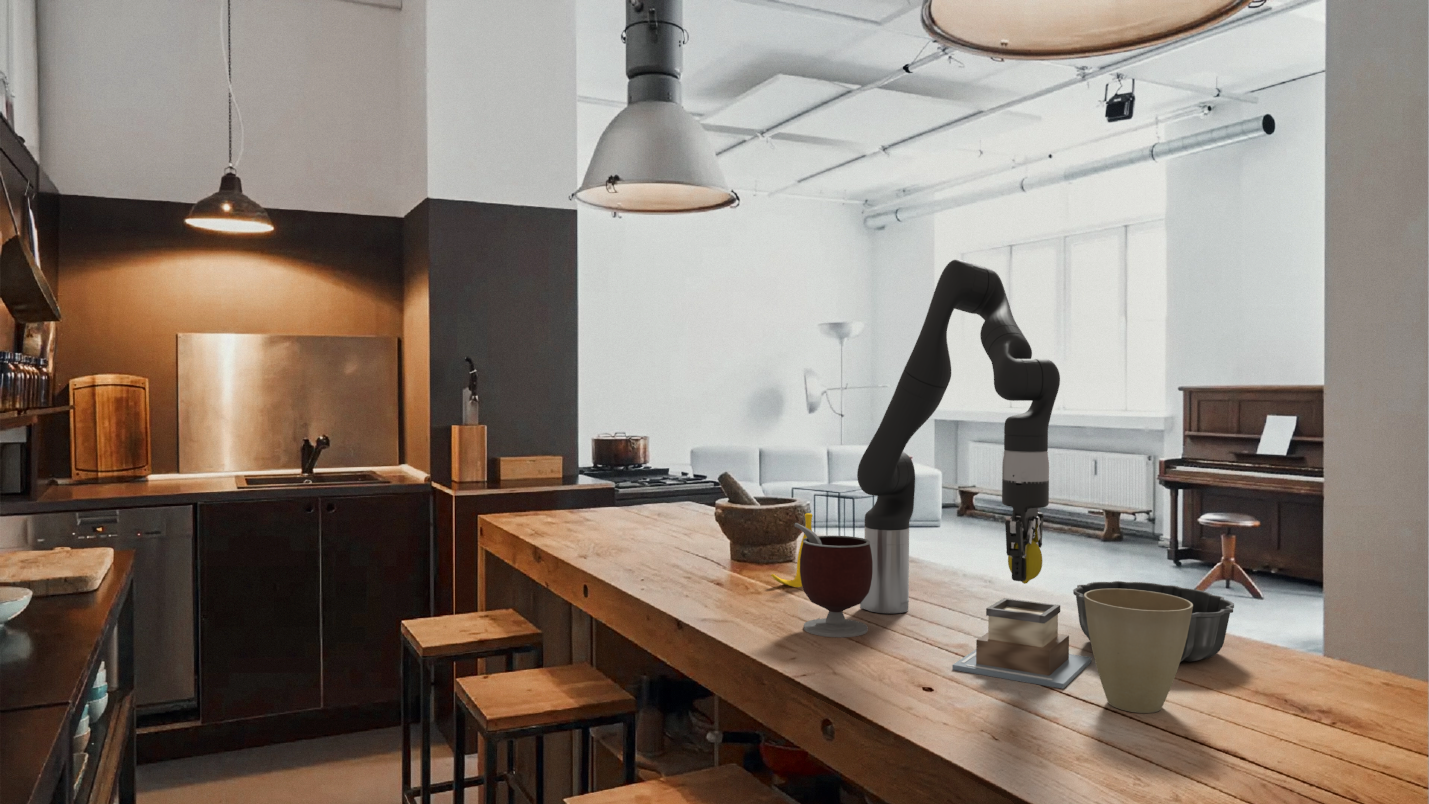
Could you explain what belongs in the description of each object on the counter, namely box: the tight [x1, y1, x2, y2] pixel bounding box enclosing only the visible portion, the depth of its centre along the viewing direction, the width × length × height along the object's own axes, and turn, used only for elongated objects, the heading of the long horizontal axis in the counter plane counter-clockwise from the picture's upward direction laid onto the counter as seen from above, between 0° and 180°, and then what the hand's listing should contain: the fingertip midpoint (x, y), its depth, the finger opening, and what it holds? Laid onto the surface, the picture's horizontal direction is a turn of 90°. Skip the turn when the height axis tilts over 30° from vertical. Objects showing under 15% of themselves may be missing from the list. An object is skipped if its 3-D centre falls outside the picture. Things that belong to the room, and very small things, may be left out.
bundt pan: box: [1072, 580, 1235, 663], centre depth 179 cm, size 26×26×10 cm
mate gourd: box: [793, 522, 873, 638], centre depth 193 cm, size 16×14×20 cm
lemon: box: [1007, 540, 1043, 585], centre depth 169 cm, size 6×6×8 cm
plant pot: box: [1084, 589, 1193, 714], centre depth 149 cm, size 15×15×16 cm
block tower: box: [975, 597, 1070, 676], centre depth 169 cm, size 12×12×9 cm
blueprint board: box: [951, 649, 1092, 690], centre depth 169 cm, size 18×18×1 cm
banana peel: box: [770, 512, 813, 588], centre depth 235 cm, size 17×19×17 cm
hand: (1024, 577), depth 169 cm, fingers closed on lemon, 5 cm apart
